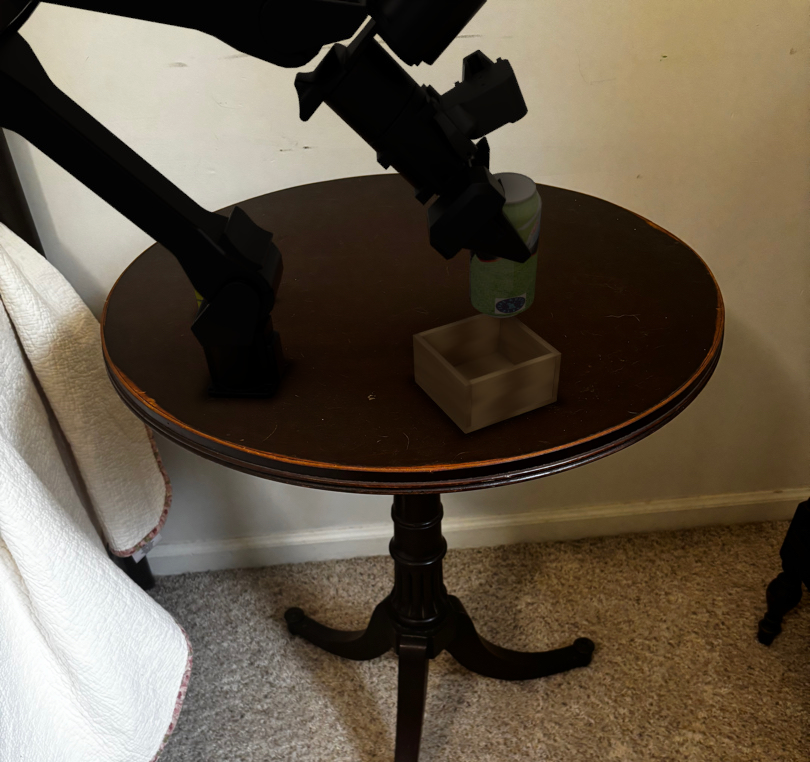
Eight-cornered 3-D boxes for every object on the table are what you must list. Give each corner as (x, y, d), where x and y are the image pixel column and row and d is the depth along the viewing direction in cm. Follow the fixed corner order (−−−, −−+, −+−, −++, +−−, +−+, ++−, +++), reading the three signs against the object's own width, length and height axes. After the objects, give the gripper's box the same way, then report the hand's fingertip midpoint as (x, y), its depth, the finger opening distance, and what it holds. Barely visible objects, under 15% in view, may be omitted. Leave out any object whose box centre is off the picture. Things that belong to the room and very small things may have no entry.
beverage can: (528, 291, 78) (538, 161, 69) (539, 328, 72) (552, 191, 64) (464, 294, 78) (466, 165, 70) (470, 331, 72) (473, 195, 64)
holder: (465, 434, 71) (465, 386, 68) (414, 381, 78) (412, 334, 74) (556, 401, 74) (561, 353, 71) (500, 353, 81) (502, 306, 77)
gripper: (480, 58, 51) (623, 219, 59) (454, -5, 65) (573, 134, 72) (366, 189, 57) (511, 321, 65) (363, 106, 70) (484, 224, 78)
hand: (522, 243), depth 70 cm, fingers closed on beverage can, 6 cm apart
